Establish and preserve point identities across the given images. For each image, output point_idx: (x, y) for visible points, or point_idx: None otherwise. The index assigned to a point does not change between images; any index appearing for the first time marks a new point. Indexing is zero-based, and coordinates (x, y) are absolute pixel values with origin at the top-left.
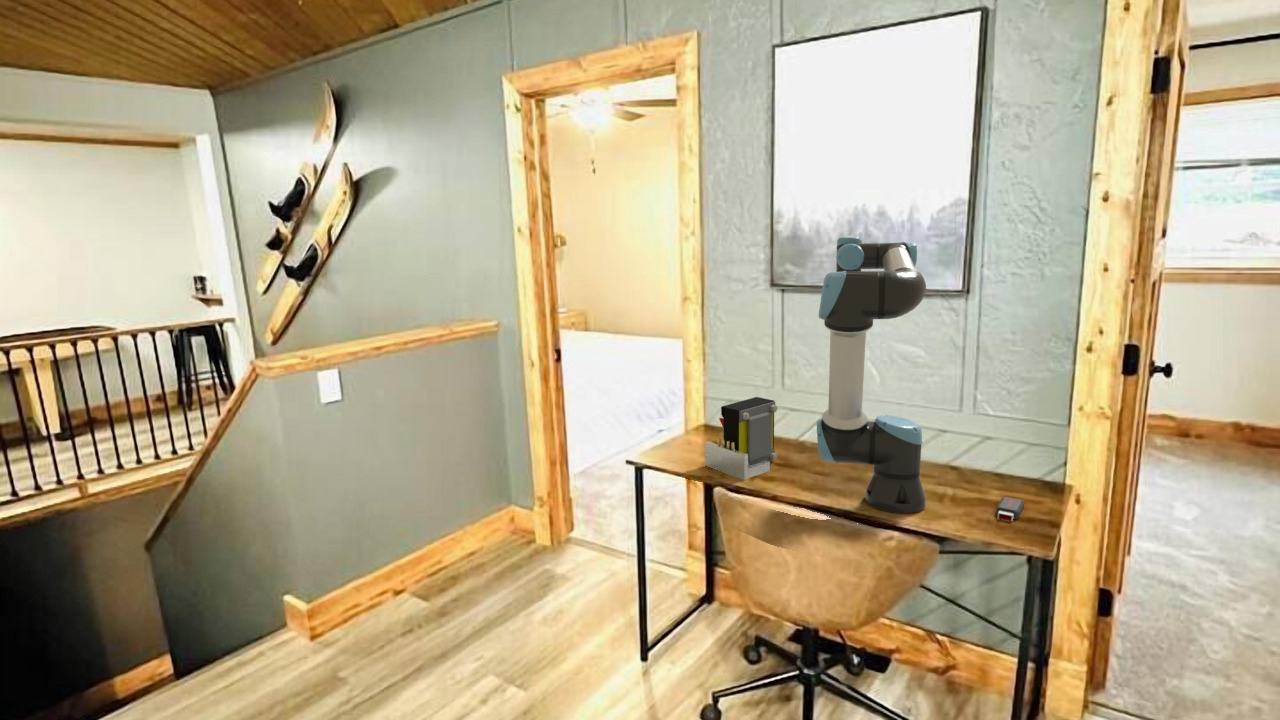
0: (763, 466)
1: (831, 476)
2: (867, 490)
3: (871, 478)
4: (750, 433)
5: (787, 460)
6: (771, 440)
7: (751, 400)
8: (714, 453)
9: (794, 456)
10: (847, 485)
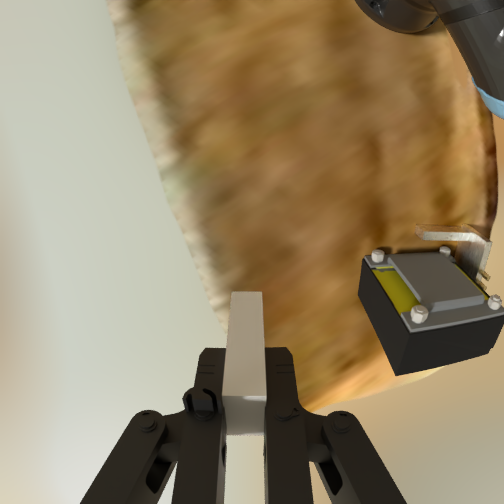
0: (435, 229)
1: (371, 125)
2: (426, 26)
3: (434, 17)
4: (468, 279)
5: (350, 239)
6: (400, 269)
7: (430, 360)
8: None
9: (320, 245)
10: (389, 80)
